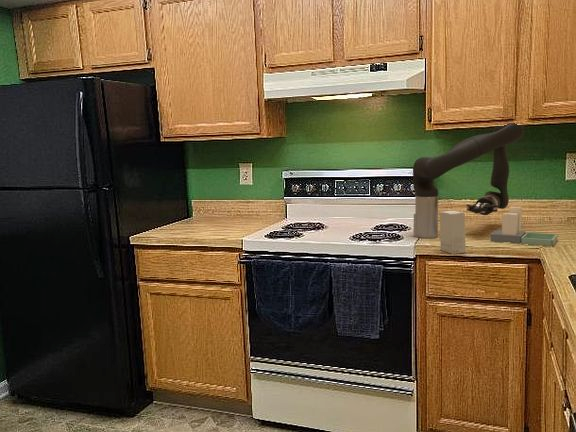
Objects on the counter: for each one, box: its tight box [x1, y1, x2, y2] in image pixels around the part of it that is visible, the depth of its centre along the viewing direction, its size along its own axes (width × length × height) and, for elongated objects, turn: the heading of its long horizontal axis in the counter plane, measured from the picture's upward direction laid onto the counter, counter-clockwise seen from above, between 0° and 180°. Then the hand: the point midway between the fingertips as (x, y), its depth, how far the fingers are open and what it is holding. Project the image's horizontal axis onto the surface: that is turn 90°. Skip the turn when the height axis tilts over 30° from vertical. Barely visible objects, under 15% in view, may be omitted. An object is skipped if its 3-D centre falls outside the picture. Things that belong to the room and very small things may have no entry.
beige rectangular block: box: [508, 205, 523, 233], centre depth 208 cm, size 4×4×10 cm
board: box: [489, 229, 527, 244], centre depth 208 cm, size 11×11×3 cm
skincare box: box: [439, 210, 467, 255], centre depth 191 cm, size 8×6×15 cm
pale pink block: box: [501, 212, 518, 235], centre depth 205 cm, size 5×4×8 cm
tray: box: [520, 231, 559, 248], centre depth 202 cm, size 11×13×2 cm
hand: (476, 211), depth 209 cm, fingers closed
